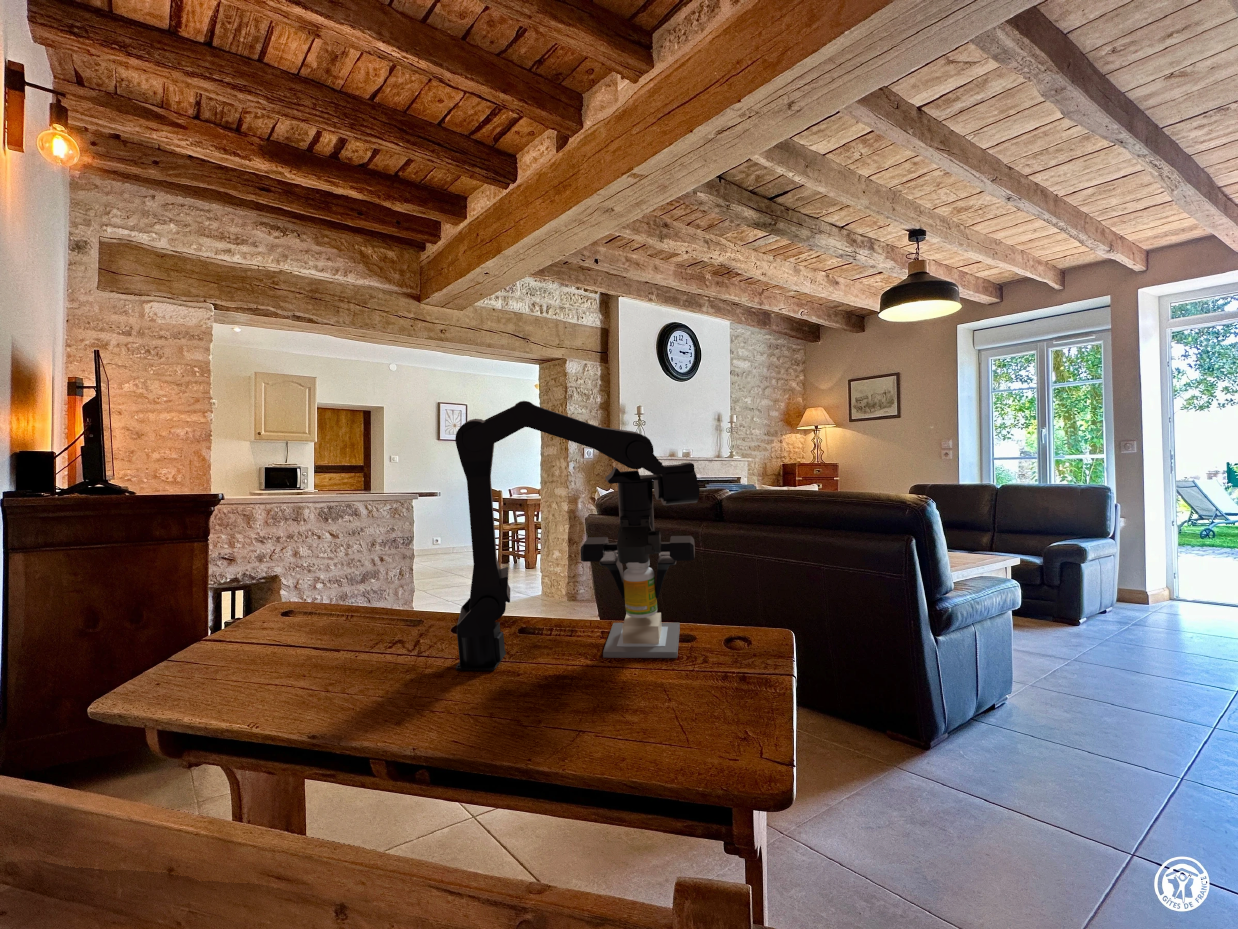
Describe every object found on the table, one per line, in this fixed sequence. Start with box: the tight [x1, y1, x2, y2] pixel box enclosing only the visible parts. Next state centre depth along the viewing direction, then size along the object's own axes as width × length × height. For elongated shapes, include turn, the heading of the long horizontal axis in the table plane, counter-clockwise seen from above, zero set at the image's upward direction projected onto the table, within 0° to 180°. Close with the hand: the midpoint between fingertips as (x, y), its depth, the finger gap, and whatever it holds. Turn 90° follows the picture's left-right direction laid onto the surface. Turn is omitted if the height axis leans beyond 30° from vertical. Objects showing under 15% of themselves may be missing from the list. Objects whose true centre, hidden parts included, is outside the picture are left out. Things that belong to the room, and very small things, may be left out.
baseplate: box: [602, 622, 681, 659], centre depth 107 cm, size 12×12×1 cm
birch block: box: [622, 612, 662, 644], centre depth 106 cm, size 6×6×3 cm
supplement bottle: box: [623, 560, 658, 618], centre depth 106 cm, size 5×5×10 cm
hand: (640, 597), depth 106 cm, fingers closed on supplement bottle, 5 cm apart
